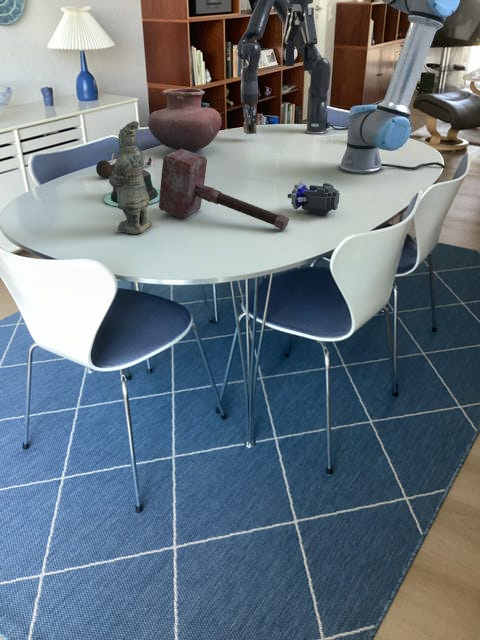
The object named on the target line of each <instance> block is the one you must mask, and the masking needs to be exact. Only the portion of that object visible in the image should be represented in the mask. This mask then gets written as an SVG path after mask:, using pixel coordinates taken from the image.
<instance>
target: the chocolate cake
mask: <svg viewBox="0 0 480 640" xmlns="http://www.w3.org/2000/svg"><path fill="white" fill-rule="evenodd" d="M113 175H114V172H113V173H112V176H113ZM143 178H144V182H145V184H146V188H147V192H148V195H149V197H150V204H154V203H157V202H159V198H160V188H156V187H154V185H153V182H152V174H151V172H149V171H148V170H146V169H144V168H143ZM103 200H104V202H105V203H106V204H108V205H109V206H115V207H118V202H117V192H116V189H115V188H114V187H112V191H111V193H108V194H107V195H106V196H104V198H103ZM150 204H149V205H150Z"/></svg>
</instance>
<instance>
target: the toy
mask: <svg viewBox="0 0 480 640" xmlns="http://www.w3.org/2000/svg"><path fill="white" fill-rule="evenodd" d="M293 187H294V188H293V189H292V191H291V193H288V194H287V199H291V200H290V201H291V202H290V203H291V206H292V207H293V210H298V209H299V208H301V210H303V211H306V212H307V214H310V215H311V214H312V215H318V216H326V215H328V213H330V212H331V211H336V210H337V209H338V205H339V204H340V194H341V193H340V190H338V189H337V188H335V187H334V184H332V183H328V182H324V183H322V185H315V184H310V185H309V186H308V187H309V188H308V187H307V185H306V184H305V183H304V181H301V180H299V181H298V182H296V183H295V184H294V186H293Z"/></svg>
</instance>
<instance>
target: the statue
mask: <svg viewBox="0 0 480 640" xmlns="http://www.w3.org/2000/svg"><path fill="white" fill-rule="evenodd" d="M139 126H140V122H139V121H136V120H134V121H131V122H129V123H127V124H126V125H125V126H123V127H122V128H121V129H119V133H118V139H117V141H118V146H119V152H118V154H117V156H116V160H115V163H116V164H115V170H114V175H113V176H111V177H109V180H108V183H109V184H110V186H111V187H112V188H113V187H114V188H115V189H116V192H117V202H118V206H117V209H119V210H122V213H123V214H124V215H125V218H126V219H125V220H122V221H120V222H119V224H118V225H117V231H118V232H121V233H126V234H134V235H136V234H142V233H143V232H145V231H146V230H147V229H148V228H150V227H151V226H152V225H153V223H152V220H150V219H148V216H147V214H148V213H147V212H148V211H147V209H148V206H149V205H150V197H149V195H148V192H147V188H146V184H145V182H144V178H143V169H144V166H145V165H144V163H145V157H144V153H143V151H142V150H141V149H139V147H138V145H137V144H138V142H137V141H138V140H137V139H138V137H137V132H138V131H139V128H140V127H139Z"/></svg>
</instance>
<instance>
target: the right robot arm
mask: <svg viewBox="0 0 480 640" xmlns="http://www.w3.org/2000/svg"><path fill="white" fill-rule="evenodd" d="M287 2H288V4H292V5H293V6H292V7H288V8H287V18H286V23H285V27H284V29H283V33H282V41H284V43H285V61H284V66H285V67H295V49H296V46H295V40H294V38H295V35H296V32H297V29H298V27H301V31H302V35H303V39H304V42H305V43H304V46H303V47H304V52H303V58H302V71H303V72H308V71H312V63H313V46H314V45H315V46H316V45H317V44H318V36H317V35H318V34H317V29H316V22H315V9H314V7H309V5H310V4H311V5H312V4H313V3H314V0H288V1H287ZM381 2H382V3H384V4H385V5H388V6H389V7H391V8H394V9H395V10H398V11H400V12H402V13H403V14H406V15H407V19H408V22H409V27H408V29H407V32H406V34H405V38H404V41H403V44H402V47H401V50H400V52H399V55H398V58H397V61H396V64H395V67H394V70H393V74H392V76H391V79H390V82H389V83H388V88H387V91H386V92H385V96H384V99H383V100H382V101H381V102H379V103H377V104H362V105H354V106H353V105H352V107H351V108H350V109H349V113H348V126H347V127H348V129H347V138H346V139H347V140H346V149H345V151H344V154H343V156H342V158H341V162H340V170H341V171H343V172H345V173H349V174H355V175H356V174H357V175H369V174H370V175H371V174H376V173H378V172H380V171H382V167H385V168H395V169H403V170H411V171H412V170H418V169H420V168H421V167H428V166H439V167H441V168H442V169H447V167H446V166H445V165H444V164H443V163H442V162H437V161H434V162H433V161H432V162H427V163H425V162H424V163H420V164H418V165H415V166H405V165H399V164H392V163H391V164H390V163H382V161H381V155H380V150H382V151H387V152H393V151H397V150H398V149H400V148H402V147H403V146H404V145H405V144H406V143H407V142H408V141H409V138H410V136H411V134H412V126H411V122H410V121H409V120H410V117H411V110H410V109H409V106H410V104H411V101H412V98H413V95H414V93H415V90H416V88H417V85H418V81H419V79H420V76H421V74H422V70H423V67H424V65H425V62H426V59H427V57H428V55H429V52H430V48H431V45H432V43H433V41H434V37H435V35H436V32H437V31H438V30H439V29H441V28H443V27H444V24H445V21H446V19H447V17H450V16H451V15H452V14H454V13H455V12H456V10H457V9H458V7H459V5H460V3H461V0H381Z"/></svg>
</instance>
